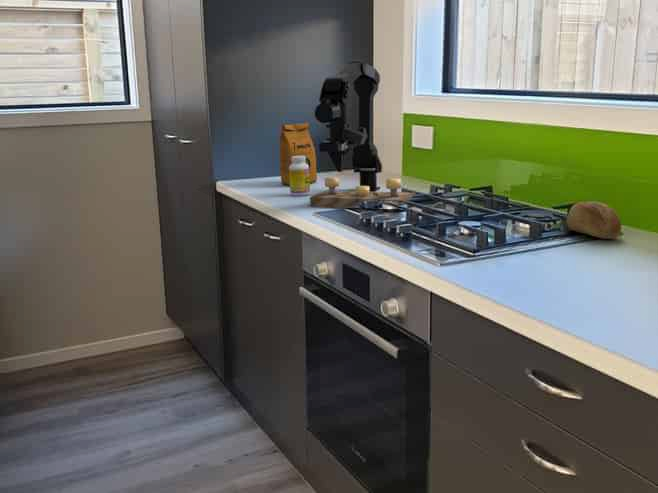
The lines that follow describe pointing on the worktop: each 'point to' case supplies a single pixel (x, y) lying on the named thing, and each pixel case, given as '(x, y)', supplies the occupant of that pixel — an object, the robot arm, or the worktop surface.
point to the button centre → (362, 190)
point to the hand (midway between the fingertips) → (340, 171)
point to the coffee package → (296, 150)
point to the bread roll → (594, 220)
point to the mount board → (353, 198)
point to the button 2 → (393, 186)
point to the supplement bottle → (299, 176)
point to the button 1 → (332, 184)
